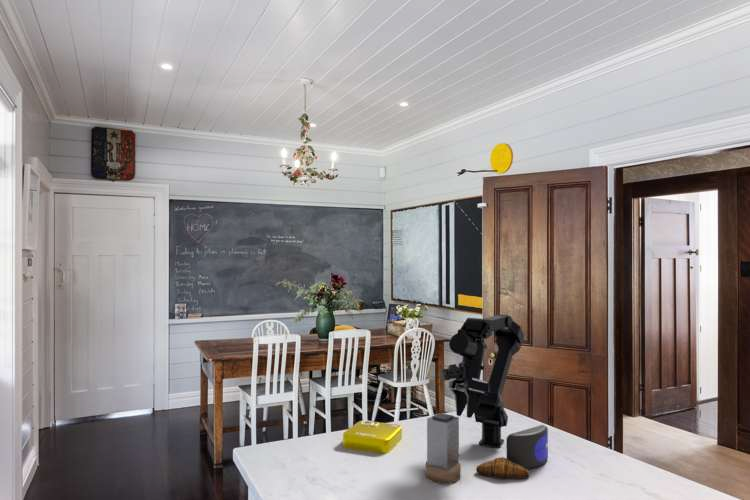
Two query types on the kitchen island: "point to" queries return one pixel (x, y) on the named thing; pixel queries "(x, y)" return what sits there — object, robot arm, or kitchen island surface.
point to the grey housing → (443, 441)
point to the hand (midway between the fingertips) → (463, 416)
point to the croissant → (502, 469)
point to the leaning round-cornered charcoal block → (528, 447)
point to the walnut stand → (443, 474)
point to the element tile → (372, 436)
